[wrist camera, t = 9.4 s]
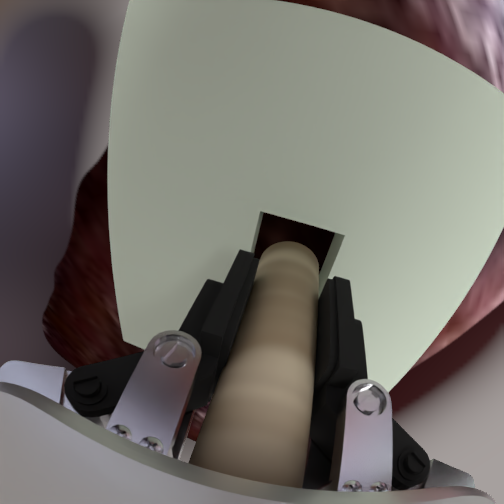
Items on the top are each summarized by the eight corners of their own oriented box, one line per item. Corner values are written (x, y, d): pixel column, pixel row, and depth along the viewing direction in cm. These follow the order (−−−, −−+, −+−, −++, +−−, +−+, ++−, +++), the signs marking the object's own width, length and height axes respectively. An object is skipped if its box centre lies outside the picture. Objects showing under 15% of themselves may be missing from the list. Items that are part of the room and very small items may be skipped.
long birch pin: (266, 234, 11) (147, 557, 2) (327, 251, 11) (301, 585, 2) (253, 283, 13) (160, 549, 3) (308, 298, 13) (265, 572, 3)
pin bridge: (186, 23, 13) (129, 0, 7) (478, 108, 11) (539, 122, 6) (158, 290, 23) (123, 340, 18) (366, 348, 22) (371, 408, 17)
